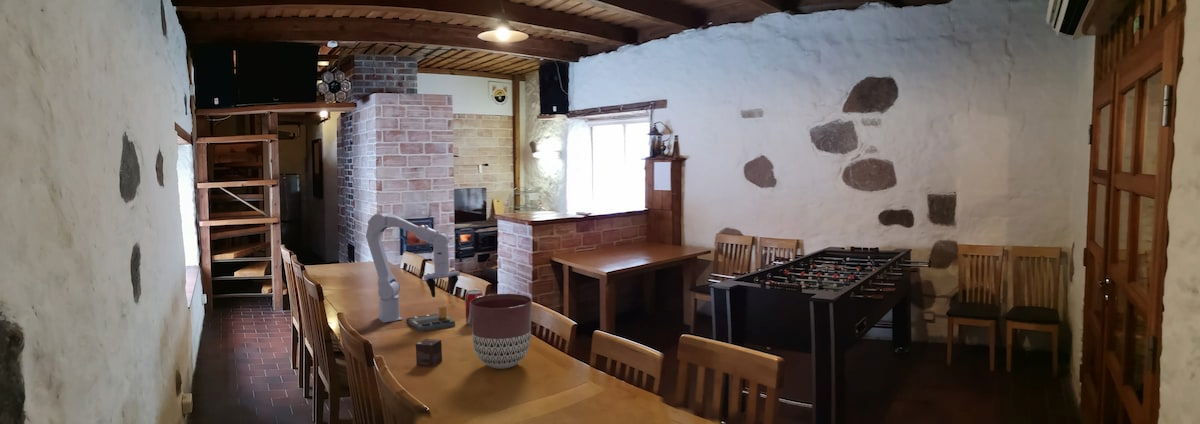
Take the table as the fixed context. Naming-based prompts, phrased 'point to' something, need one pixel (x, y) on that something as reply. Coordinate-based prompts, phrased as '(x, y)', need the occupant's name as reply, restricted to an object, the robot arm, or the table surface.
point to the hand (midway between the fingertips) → (442, 295)
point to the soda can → (468, 298)
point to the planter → (501, 328)
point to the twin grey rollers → (420, 316)
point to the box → (429, 352)
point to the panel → (431, 323)
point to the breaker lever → (442, 312)
